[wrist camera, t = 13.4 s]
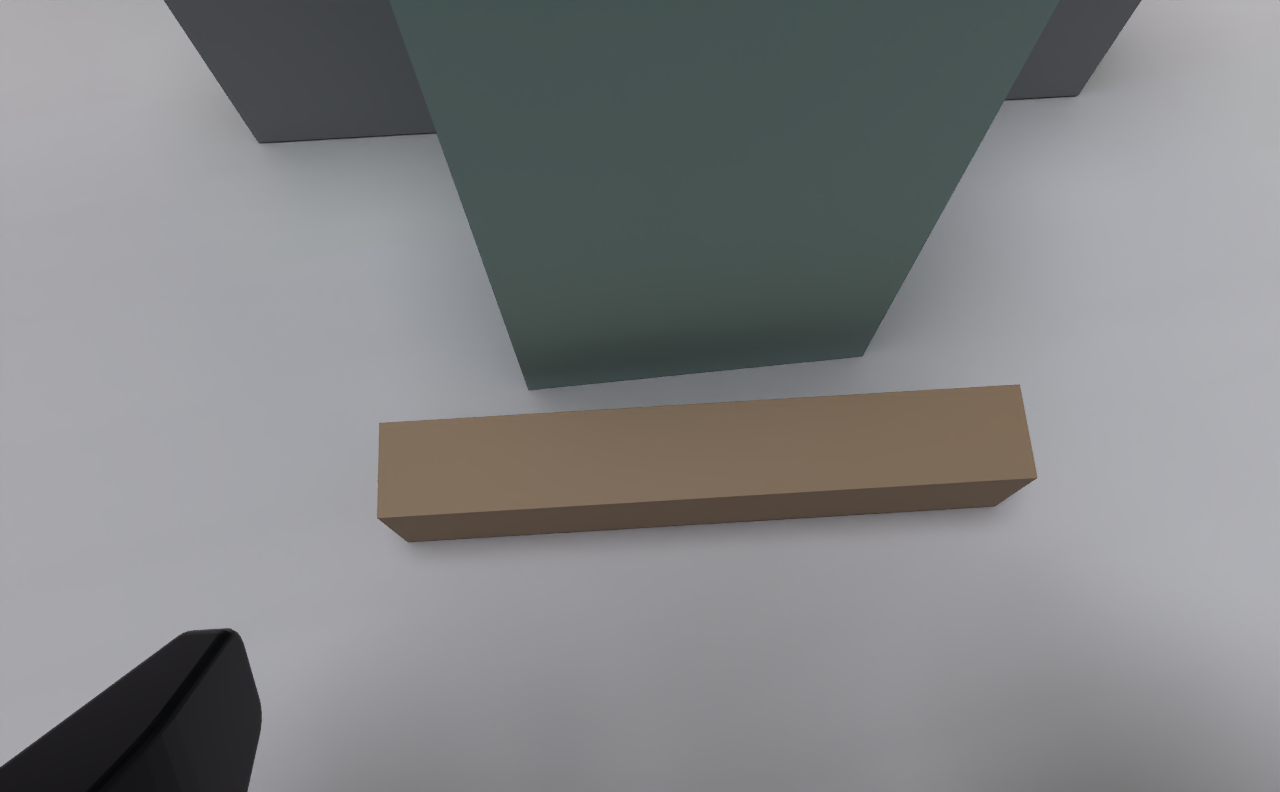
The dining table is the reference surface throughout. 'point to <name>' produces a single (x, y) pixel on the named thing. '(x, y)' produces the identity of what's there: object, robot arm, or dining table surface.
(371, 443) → the dining table surface
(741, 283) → the cabinet box
